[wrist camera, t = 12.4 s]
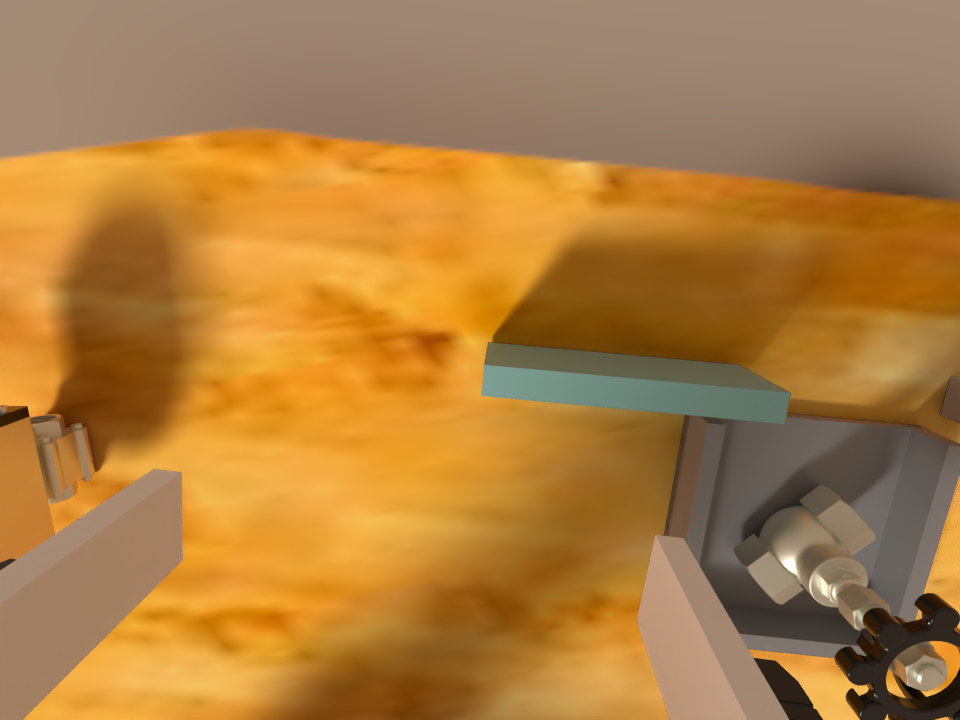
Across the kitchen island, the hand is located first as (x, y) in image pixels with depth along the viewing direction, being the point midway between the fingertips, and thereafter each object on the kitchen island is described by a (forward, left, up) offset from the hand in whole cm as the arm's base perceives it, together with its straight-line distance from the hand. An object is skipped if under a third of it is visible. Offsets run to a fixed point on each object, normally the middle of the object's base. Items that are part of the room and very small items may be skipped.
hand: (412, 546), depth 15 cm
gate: (+1, -9, -19) cm, 21 cm away
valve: (-8, -21, -18) cm, 29 cm away
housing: (-6, -22, -19) cm, 30 cm away
